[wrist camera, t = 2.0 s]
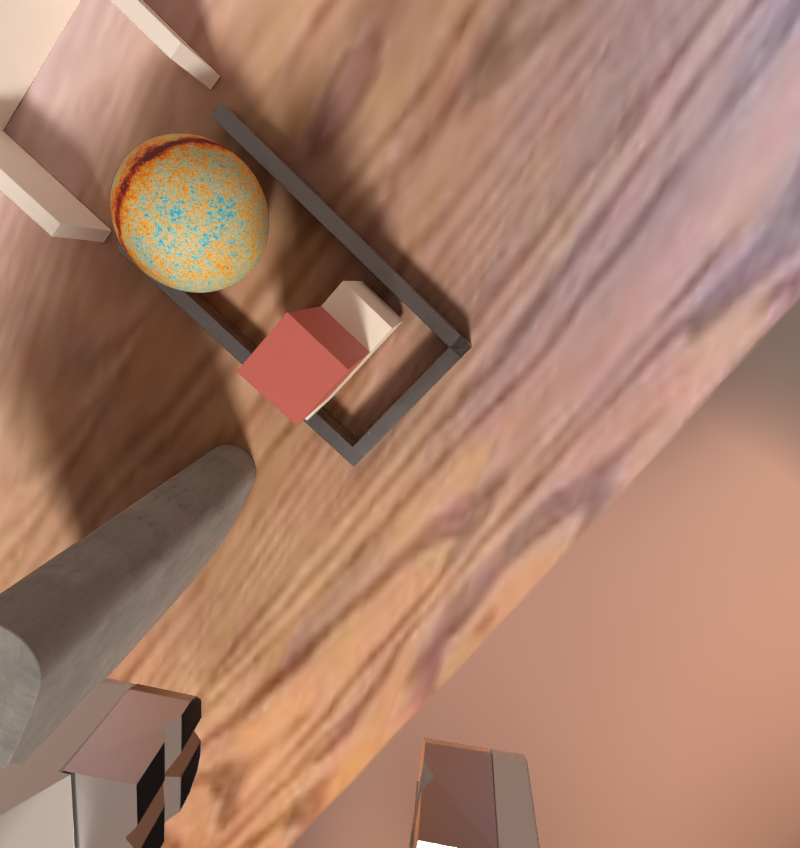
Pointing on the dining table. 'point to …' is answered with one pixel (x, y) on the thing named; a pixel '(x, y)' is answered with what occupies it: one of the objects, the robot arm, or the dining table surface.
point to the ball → (189, 212)
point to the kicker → (319, 349)
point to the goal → (12, 76)
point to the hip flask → (108, 595)
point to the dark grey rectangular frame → (369, 257)
